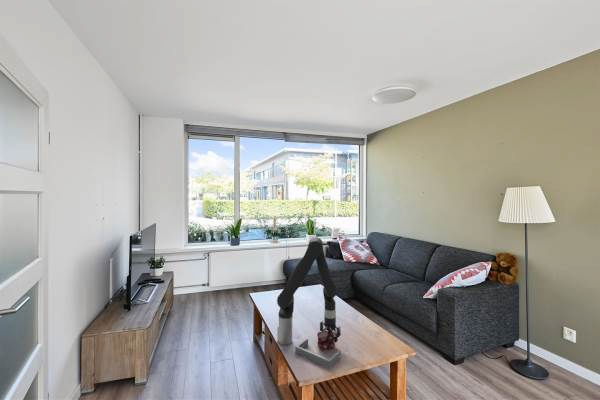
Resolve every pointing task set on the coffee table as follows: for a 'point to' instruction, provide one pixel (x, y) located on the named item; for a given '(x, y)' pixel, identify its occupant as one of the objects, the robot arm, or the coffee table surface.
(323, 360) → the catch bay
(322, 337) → the toy fire truck
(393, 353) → the coffee table surface
